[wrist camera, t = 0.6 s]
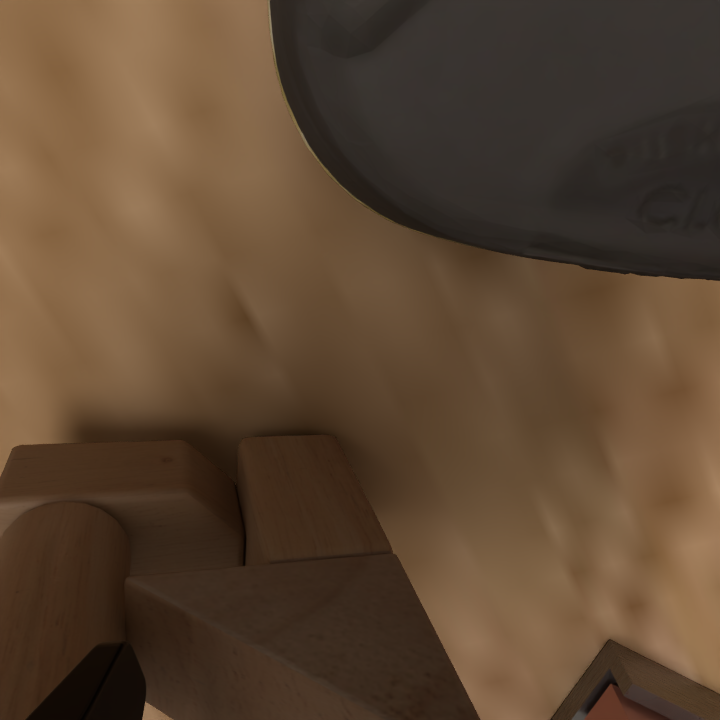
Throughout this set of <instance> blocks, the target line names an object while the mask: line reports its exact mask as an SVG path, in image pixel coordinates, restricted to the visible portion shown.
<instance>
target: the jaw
mask: <svg viewBox="0 0 720 720" xmlns="http://www.w3.org/2000/svg"><path fill="white" fill-rule="evenodd" d="M584 720H671V719H669V718H667V717H665V716H663V715H661V714H659V713H657V712H655V711H653V710H651V709H649V708H647V707H645V706H643V705H641V704H639V703H637V702H635V701H633V700H631V699H629V698H627V697H625V696H623V694H622V692H621V690H620V688H619V687H617V686H615V685H613V684H610V685H609V687H608V688H607V689H606V691H605V692H604V693H603V695H602V696H601V697H600V699H599V700H598V701H597V703H596V704H595V705H594V707H593V708H592V709H591V711H590V712H589V713H588V715H587V716H586V717H585V719H584Z"/></svg>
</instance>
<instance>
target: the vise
mask: <svg viewBox="0 0 720 720" xmlns="http://www.w3.org/2000/svg"><path fill="white" fill-rule="evenodd" d="M610 684H613V685H615V686H617V687H619V688H620V690H621V692H622V694H623V696H625V697H627V698H629V699H631V700H633V701H635V702H637V703H639V704H641V705H643V706H645V707H647V708H649V709H651V710H653V711H655V712H657V713H659V714H661V715H663V716H665V717H667V718H669V719H671V720H720V695H719V694H717V693H715V692H713V691H711V690H709V689H707V688H705V687H703V686H701V685H699V684H697V683H695V682H693V681H691V680H689V679H687V678H685V677H683V676H681V675H679V674H677V673H675V672H673V671H671V670H669V669H667V668H665V667H663V666H661V665H659V664H657V663H655V662H653V661H651V660H649V659H647V658H645V657H643V656H641V655H639V654H637V653H635V652H633V651H631V650H629V649H627V648H625V647H623V646H621V645H619V644H617V643H615V642H613V641H611V640H609V641H608V642H607V644H606V645H605V646H604V648H603V649H602V650H601V652H600V653H599V655H598V656H597V657H596V659H595V660H594V661H593V663H592V664H591V666H590V667H589V668H588V670H587V671H586V672H585V674H584V675H583V677H582V678H581V679H580V681H579V682H578V683H577V685H576V686H575V688H574V689H573V690H572V692H571V693H570V694H569V696H568V697H567V698H566V700H565V701H564V703H563V704H562V705H561V707H560V708H559V709H558V711H557V712H556V714H555V715H554V716H553V718H552V719H551V720H584V719H585V717H586V716H587V715H588V713H589V712H590V711H591V709H592V708H593V707H594V705H595V704H596V703H597V701H598V700H599V699H600V697H601V696H602V695H603V693H604V692H605V691H606V689H607V688H608V687H609V685H610Z"/></svg>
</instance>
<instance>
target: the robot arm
mask: <svg viewBox="0 0 720 720" xmlns="http://www.w3.org/2000/svg"><path fill="white" fill-rule="evenodd" d="M145 699H146V680H145V676H144V674H143V671H142V669H141V666H140V664H139V662H138V659H137V657H136V654H135V652H134V649H133V647H132V645H131V644H130V643H129V642H128V641H125V640H121V641H107V642H101V643H99V644H97V645H96V646H94V647H93V648H92V649H91V650H90V651H89V652H88V653H87V655H86V656H85V657H84V658H83V659H82V660H81V661H80V662H79V663H78V664H77V665H76V666H75V667H74V668H73V669H72V670H71V671H70V672H69V673H68V675H67V676H66V677H65V678H64V679H63V680H62V681H61V682H60V683H59V684H58V685H57V686H56V687H55V688H54V689H53V690H52V691H51V692H50V693H49V694H48V696H47V697H46V698H45V699H44V700H43V701H42V702H41V703H40V704H39V705H38V706H37V707H36V708H35V709H34V710H33V711H32V712H31V713H30V714H29V715H28V717H27V718H26V719H25V720H142V717H143V711H144V705H145Z"/></svg>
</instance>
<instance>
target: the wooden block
mask: <svg viewBox="0 0 720 720" xmlns="http://www.w3.org/2000/svg"><path fill="white" fill-rule="evenodd" d="M121 640H125V641H128V642H129V643H130V644H131V645H132V647H133V649H134V652H135V654H136V657H137V659H138V662H139V664H140V666H141V669H142V671H143V674H144V676H145V680H146V699H145V701H146V702H147V703H149V704H150V705H152V706H153V707H155V708H156V709H158V710H160V711H161V712H163V713H164V714H166V715H167V716H169V717H170V718H172V719H174V720H480V718H479V716H478V714H477V712H476V710H475V708H474V706H473V704H472V702H471V700H470V698H469V696H468V694H467V692H466V690H465V688H464V686H463V684H462V682H461V680H460V679H459V677H458V675H457V673H456V671H455V669H454V667H453V665H452V663H451V661H450V659H449V657H448V655H447V653H446V651H445V649H444V647H443V645H442V643H441V641H440V639H439V637H438V635H437V633H436V631H435V629H434V627H433V626H432V624H431V622H430V620H429V618H428V616H427V614H426V612H425V610H424V608H423V606H422V604H421V602H420V600H419V598H418V596H417V594H416V592H415V590H414V588H413V586H412V584H411V582H410V580H409V578H408V576H407V574H406V573H405V571H404V569H403V567H402V565H401V563H400V561H399V559H398V557H397V555H395V554H393V551H392V548H391V545H390V543H389V541H388V539H387V537H386V535H385V533H384V531H383V529H382V527H381V525H380V523H379V521H378V519H377V517H376V515H375V513H374V512H373V510H372V508H371V506H370V504H369V502H368V500H367V498H366V496H365V494H364V492H363V490H362V488H361V486H360V484H359V482H358V480H357V478H356V476H355V474H354V472H353V470H352V468H351V466H350V464H349V462H348V460H347V458H346V456H345V454H344V452H343V451H342V449H341V447H340V445H339V443H338V441H337V439H336V437H334V436H331V435H297V436H267V437H247V438H244V439H242V441H241V443H240V445H239V447H238V462H237V486H236V485H235V483H234V482H233V481H232V479H230V478H229V477H228V476H227V475H226V474H224V473H223V472H222V471H221V470H220V469H219V468H217V467H216V466H215V465H214V464H213V463H211V462H210V461H209V460H208V459H207V458H205V457H204V456H203V455H202V454H201V453H200V452H198V451H197V450H196V449H195V448H194V447H192V446H191V445H190V444H188V443H186V442H185V441H183V440H165V441H133V442H101V443H69V444H37V445H20V446H16V447H14V448H12V451H11V453H10V456H9V458H8V460H7V463H6V465H5V468H4V470H3V472H2V475H1V477H0V720H25V719H26V718H27V717H28V715H29V714H30V713H31V712H32V711H33V710H34V709H35V708H36V707H37V706H38V705H39V704H40V703H41V702H42V701H43V700H44V699H45V698H46V697H47V696H48V694H49V693H50V692H51V691H52V690H53V689H54V688H55V687H56V686H57V685H58V684H59V683H60V682H61V681H62V680H63V679H64V678H65V677H66V676H67V675H68V673H69V672H70V671H71V670H72V669H73V668H74V667H75V666H76V665H77V664H78V663H79V662H80V661H81V660H82V659H83V658H84V657H85V656H86V655H87V653H88V652H89V651H90V650H91V649H92V648H93V647H94V646H96V645H97V644H99V643H101V642H107V641H121Z"/></svg>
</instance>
